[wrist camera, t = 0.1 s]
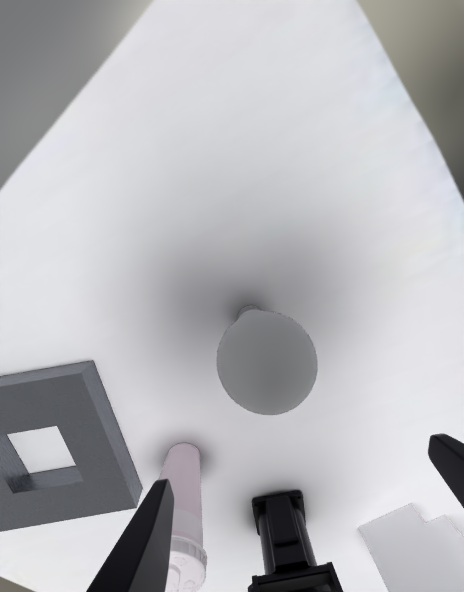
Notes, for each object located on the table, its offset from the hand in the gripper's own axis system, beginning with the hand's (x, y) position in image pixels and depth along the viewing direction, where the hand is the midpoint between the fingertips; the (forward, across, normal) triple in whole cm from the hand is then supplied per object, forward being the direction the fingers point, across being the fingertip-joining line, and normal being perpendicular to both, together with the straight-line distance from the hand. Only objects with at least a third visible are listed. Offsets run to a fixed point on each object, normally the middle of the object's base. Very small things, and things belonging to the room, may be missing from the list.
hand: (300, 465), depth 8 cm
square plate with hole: (+15, +24, +11) cm, 30 cm away
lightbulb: (+15, 0, 0) cm, 15 cm away
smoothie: (+15, +10, +16) cm, 24 cm away
